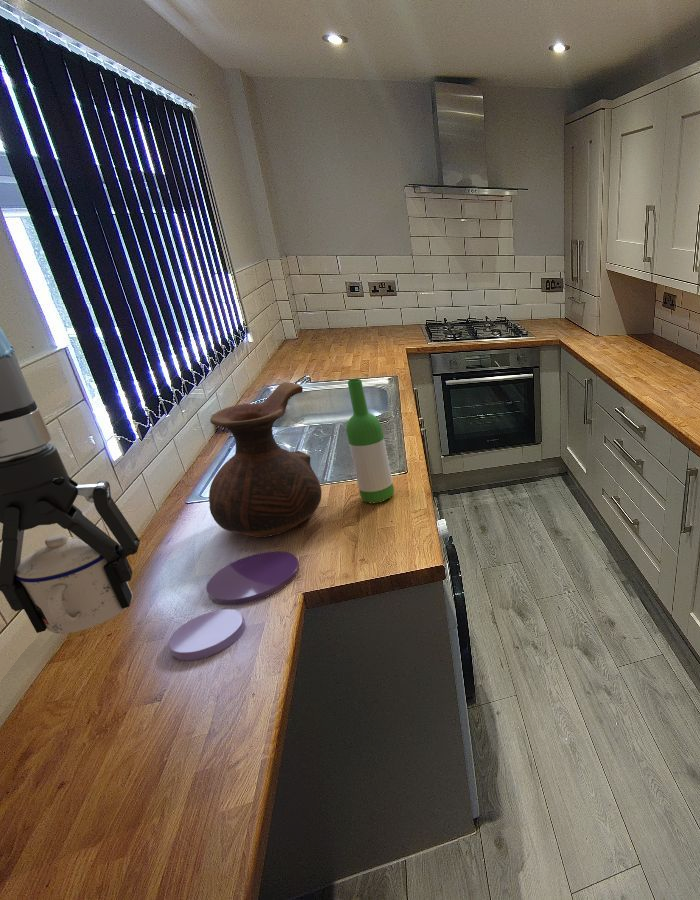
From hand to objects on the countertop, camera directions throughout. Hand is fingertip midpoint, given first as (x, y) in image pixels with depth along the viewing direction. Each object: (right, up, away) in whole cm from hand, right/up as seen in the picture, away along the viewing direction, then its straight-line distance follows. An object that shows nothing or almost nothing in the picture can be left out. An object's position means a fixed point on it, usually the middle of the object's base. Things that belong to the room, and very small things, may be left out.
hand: (86, 613), depth 68 cm
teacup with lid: (0, -1, 0) cm, 1 cm away
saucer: (+1, -4, +32) cm, 33 cm away
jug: (-7, +5, +52) cm, 53 cm away
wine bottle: (+12, +9, +62) cm, 64 cm away
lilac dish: (+2, -10, +18) cm, 21 cm away
